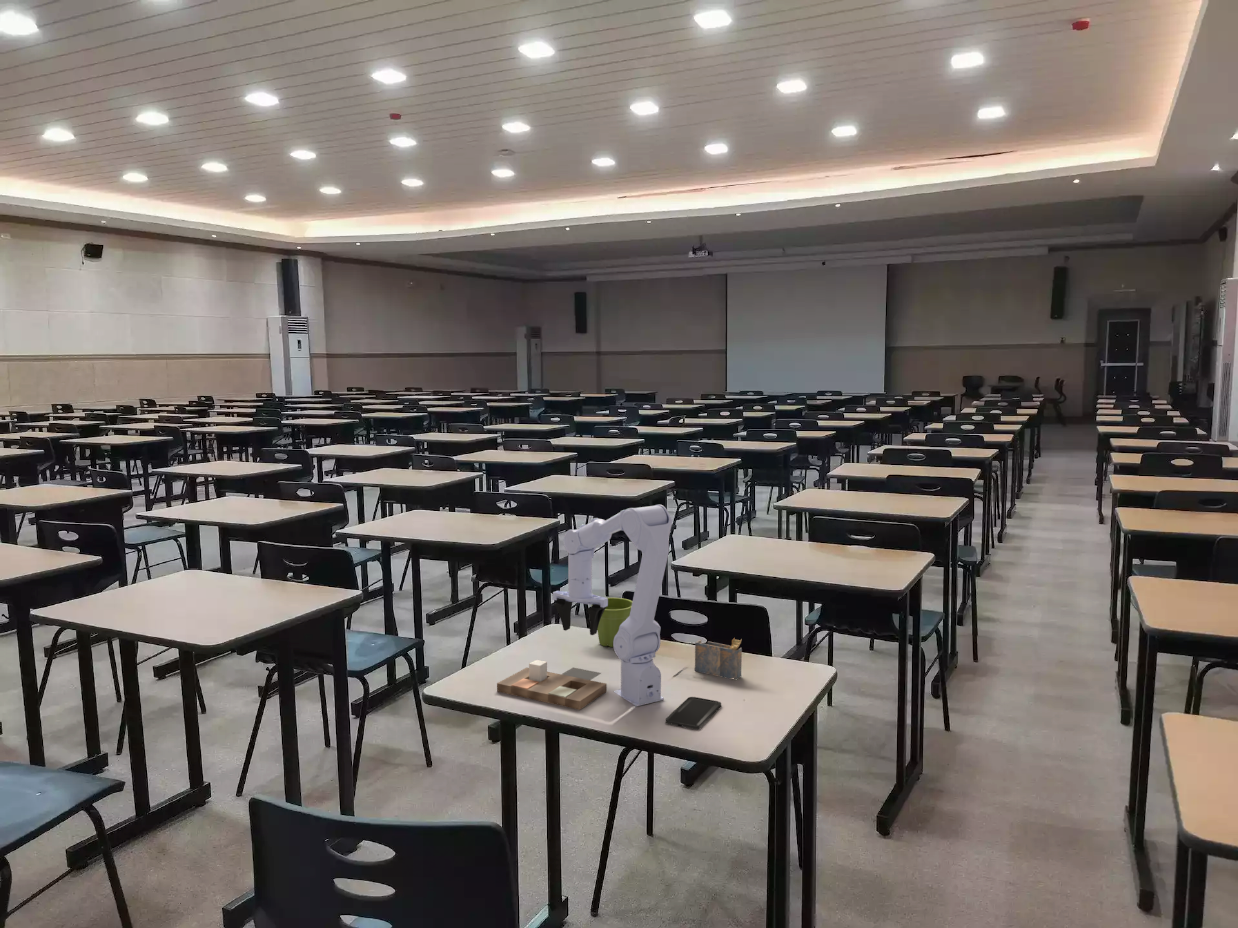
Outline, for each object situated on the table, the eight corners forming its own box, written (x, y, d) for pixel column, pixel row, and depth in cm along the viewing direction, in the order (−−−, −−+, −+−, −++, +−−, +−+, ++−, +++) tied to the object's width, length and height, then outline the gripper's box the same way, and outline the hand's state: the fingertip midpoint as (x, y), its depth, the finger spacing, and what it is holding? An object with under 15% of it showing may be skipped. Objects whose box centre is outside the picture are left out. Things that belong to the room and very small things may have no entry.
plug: (547, 686, 197) (547, 661, 196) (539, 690, 194) (539, 665, 194) (536, 684, 198) (536, 659, 198) (529, 688, 196) (529, 663, 195)
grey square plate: (601, 675, 205) (601, 672, 205) (584, 685, 198) (584, 683, 198) (573, 669, 208) (573, 667, 208) (555, 679, 201) (555, 677, 201)
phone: (722, 701, 187) (698, 726, 173) (722, 706, 187) (698, 732, 173) (689, 695, 190) (663, 719, 177) (689, 700, 190) (663, 724, 177)
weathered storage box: (741, 678, 205) (742, 639, 204) (736, 681, 202) (737, 642, 201) (700, 668, 211) (701, 631, 210) (694, 672, 208) (695, 634, 207)
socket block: (606, 693, 193) (606, 682, 192) (579, 712, 182) (579, 700, 182) (526, 677, 203) (526, 666, 203) (497, 693, 192) (496, 682, 192)
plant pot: (581, 643, 229) (581, 603, 227) (611, 634, 237) (611, 595, 236) (613, 653, 221) (614, 611, 220) (643, 643, 230) (643, 602, 228)
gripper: (613, 577, 205) (613, 631, 207) (563, 570, 212) (563, 623, 214) (599, 583, 199) (599, 639, 201) (548, 576, 206) (548, 630, 207)
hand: (579, 631), depth 207 cm, fingers open, 7 cm apart
